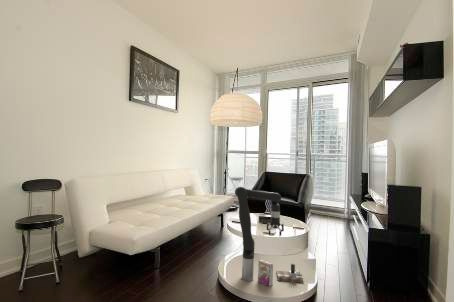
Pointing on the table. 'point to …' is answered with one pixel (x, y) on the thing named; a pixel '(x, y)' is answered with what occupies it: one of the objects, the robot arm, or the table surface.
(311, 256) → the table surface
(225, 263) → the table surface
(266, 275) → the candy bar box
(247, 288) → the table surface
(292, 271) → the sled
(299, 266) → the table surface
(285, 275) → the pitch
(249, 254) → the robot arm
